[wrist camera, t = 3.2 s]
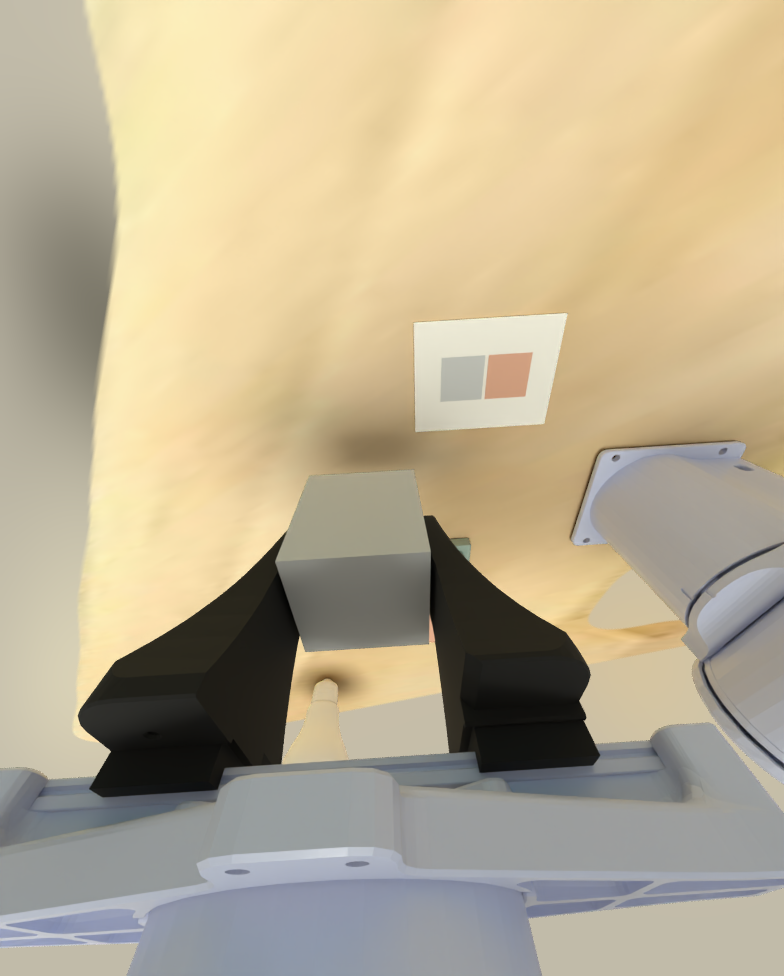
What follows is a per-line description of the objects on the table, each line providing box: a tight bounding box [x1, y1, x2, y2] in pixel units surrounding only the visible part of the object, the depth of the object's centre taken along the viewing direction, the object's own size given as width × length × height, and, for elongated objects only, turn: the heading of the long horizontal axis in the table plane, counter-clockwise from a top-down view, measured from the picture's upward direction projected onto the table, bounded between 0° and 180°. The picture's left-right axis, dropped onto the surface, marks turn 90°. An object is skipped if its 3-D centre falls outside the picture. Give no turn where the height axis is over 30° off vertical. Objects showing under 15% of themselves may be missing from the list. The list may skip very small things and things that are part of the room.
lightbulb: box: [282, 679, 349, 764], centre depth 29 cm, size 6×6×11 cm
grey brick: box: [275, 469, 431, 652], centre depth 12 cm, size 4×4×5 cm
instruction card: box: [414, 313, 567, 432], centre depth 18 cm, size 8×6×1 cm
